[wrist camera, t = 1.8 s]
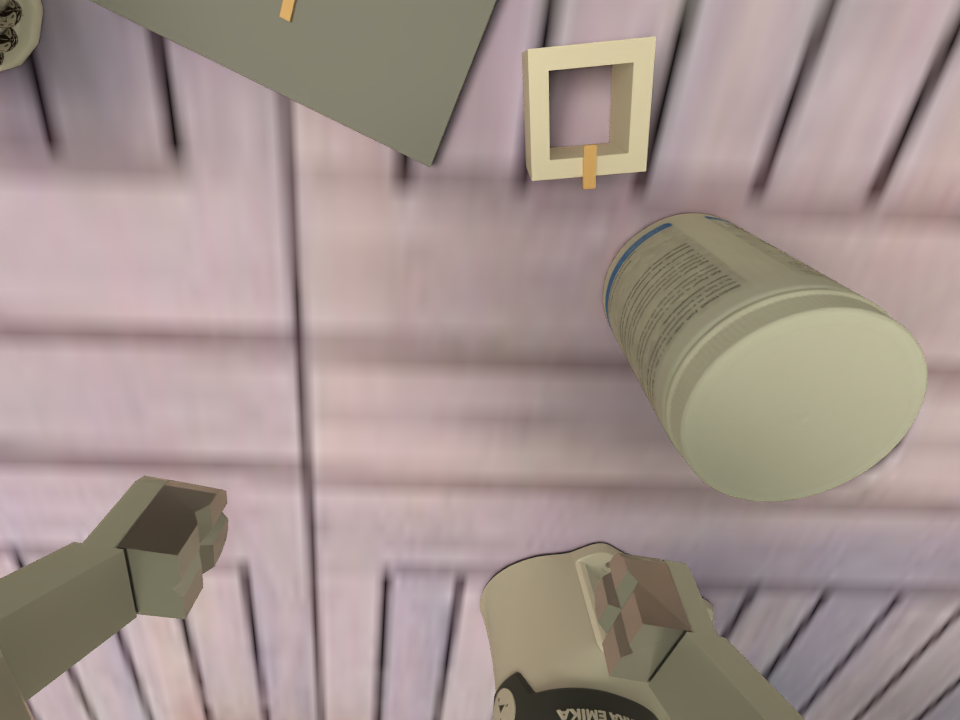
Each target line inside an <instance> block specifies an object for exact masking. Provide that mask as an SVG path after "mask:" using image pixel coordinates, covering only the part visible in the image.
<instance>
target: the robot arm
mask: <svg viewBox="0 0 960 720" xmlns="http://www.w3.org/2000/svg"><path fill="white" fill-rule="evenodd" d="M226 504H227V494H226V491H225V490H222V489H216V488H211V487H206V486H200V485H195V484H190V483H184V482H179V481H174V480H167V479H161V478H156V477H150V476H143V477H142V478H140V479H138V480H137V481H135V482H134V484H133V485H132V486H131V487H130V488H129V489H128V491H127V492H126V493H125V494H124V495H123V496H122V498H121V499H120V500H119V501H118V502H117V503H116V505H115V506H114V507H113V508H112V509H111V510H110V512H109V513H108V514H107V515H106V516H105V517H104V519H103V520H102V521H101V522H100V523H99V524H98V526H97V527H96V528H95V529H94V530H93V531H92V533H91V534H90V535H89V536H88V537H87V538H86V540H85V541H84V542H83V543H78V542H73V543H71V544H69V545H67V546H65V547H63V548H61V549H59V550H57V551H55V552H53V553H51V554H49V555H47V556H45V557H43V558H41V559H39V560H37V561H35V562H33V563H31V564H29V565H27V566H25V567H23V568H21V569H19V570H17V571H15V572H13V573H11V574H9V575H7V576H5V577H3V578H1V579H0V720H33V718H32V715H31V713H30V711H29V709H28V707H27V704H26V701H27V700H28V699H30V698H31V697H32V696H34V695H35V694H36V693H38V692H39V691H40V690H41V689H43V688H44V687H45V686H47V685H48V684H49V683H51V682H52V681H53V680H55V679H56V678H57V677H59V676H60V675H61V674H62V673H64V672H65V671H66V670H68V669H69V668H70V667H72V666H73V665H74V664H76V663H77V662H78V661H80V660H81V659H82V658H83V657H85V656H86V655H87V654H89V653H90V652H91V651H93V650H94V649H95V648H97V647H98V646H99V645H101V644H102V643H103V642H104V641H106V640H107V639H108V638H110V637H111V636H112V635H114V634H115V633H116V632H118V631H119V630H120V629H122V628H123V627H124V626H125V625H127V624H128V623H129V622H131V621H132V620H133V619H135V618H136V617H137V615H136V614H141V615H150V616H160V617H169V618H179V619H186V617H187V615H188V613H189V612H190V610H191V608H192V606H193V604H194V603H195V601H196V599H197V597H198V595H199V594H200V592H201V590H202V588H203V578H202V574H203V573H205V572H206V571H208V570H210V569H211V568H213V567H214V566H215V564H216V562H217V560H218V558H219V557H220V555H221V552H222V550H223V547H224V544H225V541H226V538H227V531H228V518H227V517H226V516H225V515H224V514H223V513H222V511H223V509H224V508H225V506H226ZM480 610H481V614H482V617H483V620H484V623H485V627H486V630H487V635H488V639H489V644H490V650H491V656H492V663H493V671H494V678H495V689H496V693H495V696H494V709H493V720H805V719H804V718H803V717H802V716H801V715H800V714H799V713H798V712H797V711H796V710H795V709H794V708H793V707H792V706H791V705H790V704H789V703H788V701H787V700H786V699H785V698H784V697H783V696H782V695H781V694H780V693H779V692H778V691H777V690H776V689H775V688H774V687H773V686H772V685H771V684H770V683H769V682H768V681H767V680H766V679H765V678H764V677H763V676H762V675H761V674H760V673H759V672H758V671H757V670H756V669H755V668H754V667H753V666H752V665H751V664H750V663H749V662H748V661H747V660H746V659H745V658H744V657H743V656H742V655H741V654H740V653H739V652H738V650H737V649H736V648H735V647H734V646H733V645H732V644H731V643H730V642H729V641H728V640H727V639H726V638H724V637H719V636H718V635H717V632H716V630H715V628H714V625H713V623H712V622H713V618H714V611H713V608H712V605H711V603H709V602H708V601H707V600H705V599H703V598H702V597H701V595H700V592H699V590H698V587H697V585H696V583H695V580H694V578H693V576H692V573H691V571H690V569H689V567H688V566H687V565H686V564H685V563H679V562H673V561H667V560H660V559H656V558H649V557H642V556H636V555H629V554H624V553H622V552H620V551H619V550H617V549H615V548H613V547H612V546H610V545H607V544H604V543H597V544H592V545H589V546H586V547H583V548H581V549H578V550H576V551H573V552H571V553H565V554H557V555H547V556H540V557H535V558H531V559H527V560H524V561H521V562H518V563H516V564H514V565H511V566H509V567H508V568H506V569H504V570H503V571H501V572H500V573H498V574H497V575H496V576H495V577H494V578H492V580H491V581H490V582H489V583H488V584H487V586H486V587H485V589H484V591H483V593H482V596H481V600H480Z"/></svg>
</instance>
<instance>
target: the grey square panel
mask: <svg viewBox="0 0 960 720" xmlns="http://www.w3.org/2000/svg"><path fill="white" fill-rule="evenodd" d="M90 1H92V2H94V3H96V4H98V5H100V6H102V7H104V8H106V9H108V10H110V11H112V12H114V13H116V14H118V15H120V16H122V17H124V18H126V19H128V20H131V21H133V22H135V23H137V24H139V25H141V26H143V27H145V28H147V29H149V30H151V31H153V32H155V33H157V34H159V35H161V36H163V37H165V38H167V39H169V40H171V41H173V42H175V43H177V44H180V45H182V46H184V47H186V48H188V49H190V50H192V51H194V52H196V53H198V54H200V55H202V56H204V57H206V58H208V59H210V60H212V61H214V62H216V63H218V64H220V65H222V66H224V67H226V68H229V69H231V70H233V71H235V72H237V73H239V74H241V75H243V76H245V77H247V78H249V79H251V80H253V81H255V82H257V83H259V84H261V85H263V86H265V87H267V88H269V89H271V90H273V91H275V92H277V93H280V94H282V95H284V96H286V97H288V98H290V99H292V100H294V101H296V102H298V103H300V104H302V105H304V106H306V107H308V108H310V109H312V110H314V111H316V112H318V113H320V114H322V115H324V116H326V117H329V118H331V119H333V120H335V121H337V122H339V123H341V124H343V125H345V126H347V127H349V128H351V129H353V130H355V131H357V132H359V133H361V134H363V135H365V136H367V137H369V138H371V139H373V140H375V141H378V142H380V143H382V144H384V145H386V146H388V147H390V148H392V149H394V150H396V151H398V152H400V153H402V154H404V155H406V156H408V157H410V158H412V159H414V160H416V161H418V162H420V163H422V164H424V165H427V166H429V167H430V166H431V165H432V163H433V160H434V158H435V155H436V153H437V150H438V148H439V145H440V143H441V140H442V138H443V135H444V133H445V130H446V128H447V125H448V123H449V120H450V118H451V115H452V113H453V110H454V108H455V105H456V103H457V100H458V97H459V95H460V92H461V90H462V87H463V85H464V82H465V80H466V77H467V75H468V72H469V70H470V67H471V65H472V62H473V60H474V57H475V55H476V52H477V50H478V47H479V45H480V42H481V40H482V37H483V34H484V32H485V29H486V27H487V24H488V22H489V19H490V17H491V14H492V12H493V9H494V7H495V4H496V2H497V0H90Z"/></svg>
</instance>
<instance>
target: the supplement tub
mask: <svg viewBox="0 0 960 720" xmlns="http://www.w3.org/2000/svg"><path fill="white" fill-rule="evenodd" d="M603 306H604V312H605V316H606V319H607V321H608V323H609V325H610V327H611V329H612V331H613V333H614V335H615V337H616V339H617V341H618V343H619V345H620V346H621V348H622V350H623V352H624V354H625V356H626V358H627V360H628V362H629V364H630V365H631V367H632V369H633V371H634V373H635V375H636V377H637V379H638V381H639V382H640V384H641V386H642V388H643V390H644V392H645V394H646V396H647V398H648V400H649V401H650V403H651V405H652V407H653V409H654V411H655V413H656V415H657V416H658V418H659V420H660V422H661V424H662V426H663V427H664V429H665V431H666V433H667V435H668V437H669V438H670V440H671V441H672V443H673V444H674V446H675V447H676V448H677V450H678V451H679V452H680V454H681V455H682V456H683V457H684V458H685V460H686V461H687V463H688V464H689V466H690V467H691V469H692V470H693V471H694V473H695V474H696V475H697V476H698V477H699V478H700V479H701V480H702V481H704V482H705V483H706V484H708V485H709V486H710V487H712V488H714V489H716V490H717V491H719V492H721V493H724V494H727V495H729V496H732V497H736V498H740V499H745V500H752V501H764V502H771V501H786V500H793V499H799V498H803V497H808V496H811V495H815V494H818V493H821V492H824V491H827V490H830V489H832V488H835V487H837V486H839V485H841V484H843V483H845V482H847V481H849V480H851V479H853V478H855V477H857V476H858V475H860V474H861V473H863V472H865V471H866V470H868V469H869V468H871V467H872V466H873V465H875V464H876V463H877V462H879V461H880V460H881V459H882V458H883V457H884V456H886V455H887V454H888V453H889V452H890V451H891V450H892V449H893V448H894V447H895V446H896V445H897V444H898V443H899V442H900V440H901V439H902V438H903V437H904V435H905V434H906V433H907V431H908V430H909V428H910V427H911V425H912V424H913V422H914V421H915V419H916V417H917V415H918V413H919V411H920V408H921V406H922V403H923V400H924V397H925V393H926V388H927V380H928V373H927V365H926V360H925V357H924V354H923V351H922V349H921V347H920V345H919V343H918V342H917V340H916V339H915V338H914V336H913V335H912V334H911V333H910V332H909V331H908V330H907V329H906V328H905V327H904V326H902V325H901V324H900V323H898V322H897V321H895V320H894V319H892V318H891V317H890V316H889V315H888V314H887V313H886V312H885V311H884V310H883V309H881V308H880V307H879V306H877V305H876V304H874V303H873V302H871V301H869V300H867V299H865V298H864V297H862V296H861V295H859V294H857V293H855V292H853V291H852V290H850V289H848V288H846V287H845V286H843V285H841V284H839V283H837V282H836V281H834V280H832V279H830V278H829V277H827V276H825V275H823V274H821V273H820V272H818V271H816V270H814V269H813V268H811V267H809V266H807V265H805V264H804V263H802V262H800V261H798V260H797V259H795V258H793V257H791V256H789V255H788V254H786V253H784V252H782V251H780V250H779V249H777V248H775V247H773V246H772V245H770V244H768V243H766V242H764V241H763V240H761V239H759V238H757V237H755V236H754V235H752V234H750V233H748V232H747V231H745V230H743V229H741V228H739V227H738V226H736V225H734V224H732V223H730V222H728V221H726V220H724V219H722V218H719V217H716V216H713V215H707V214H700V213H688V214H680V215H675V216H671V217H667V218H665V219H662V220H660V221H657V222H655V223H653V224H652V225H650V226H648V227H646V228H645V229H643V230H642V231H640V232H639V233H637V234H636V235H635V236H634V237H632V238H631V239H630V240H629V241H628V242H627V243H626V244H625V245H624V246H623V247H622V249H621V250H620V251H619V252H618V254H617V255H616V257H615V258H614V260H613V262H612V264H611V266H610V268H609V270H608V272H607V275H606V278H605V283H604V288H603Z"/></svg>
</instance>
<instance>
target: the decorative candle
mask: <svg viewBox="0 0 960 720" xmlns="http://www.w3.org/2000/svg"><path fill="white" fill-rule="evenodd" d="M43 11H44V10H43V6H42V2H41V0H0V72H1V71H4V70H7V69H10V68H13V67H17V66H20V65H22V64H23V63H24V62H25V61H26V59H27V58H28V57H29V55H30V54H31V53H32V51H33V50H34V49H35V48H36V46H37V45H38V44H39V39H40V32H41V25H42V18H43Z"/></svg>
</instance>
